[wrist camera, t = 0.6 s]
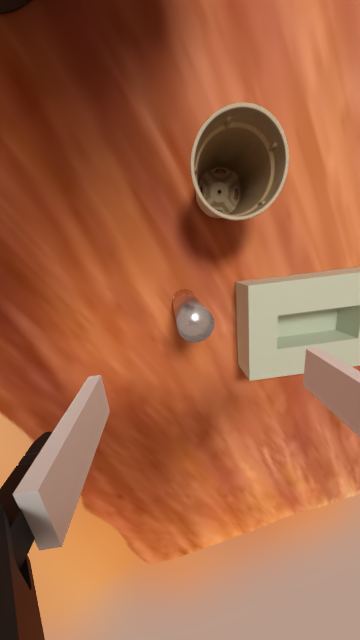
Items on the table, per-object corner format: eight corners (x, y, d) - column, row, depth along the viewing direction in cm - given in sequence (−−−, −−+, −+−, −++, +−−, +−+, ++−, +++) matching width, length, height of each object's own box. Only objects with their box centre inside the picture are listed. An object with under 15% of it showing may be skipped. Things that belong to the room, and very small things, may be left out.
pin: (171, 290, 31) (175, 309, 19) (194, 288, 31) (212, 304, 19) (173, 314, 32) (179, 344, 20) (197, 311, 32) (215, 339, 20)
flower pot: (197, 242, 29) (210, 235, 21) (171, 169, 26) (175, 128, 18) (259, 215, 29) (298, 197, 20) (240, 139, 26) (275, 82, 18)
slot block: (235, 281, 31) (248, 285, 26) (362, 266, 32) (397, 267, 27) (238, 364, 35) (249, 380, 30) (350, 348, 36) (379, 362, 31)
